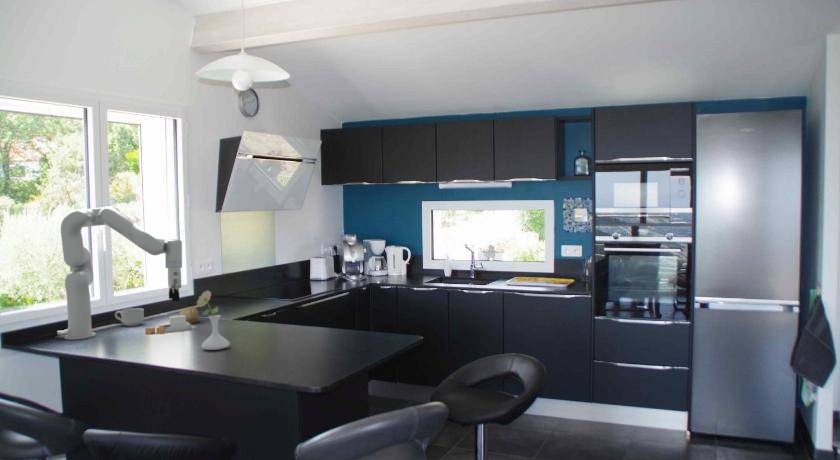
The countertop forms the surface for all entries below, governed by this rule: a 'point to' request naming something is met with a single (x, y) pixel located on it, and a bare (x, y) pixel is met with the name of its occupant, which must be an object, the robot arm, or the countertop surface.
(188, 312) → the bread roll
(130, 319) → the teacup
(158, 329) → the clip
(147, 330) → the clip
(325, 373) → the countertop surface
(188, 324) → the holder
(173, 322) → the connector
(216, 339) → the flower in vase
